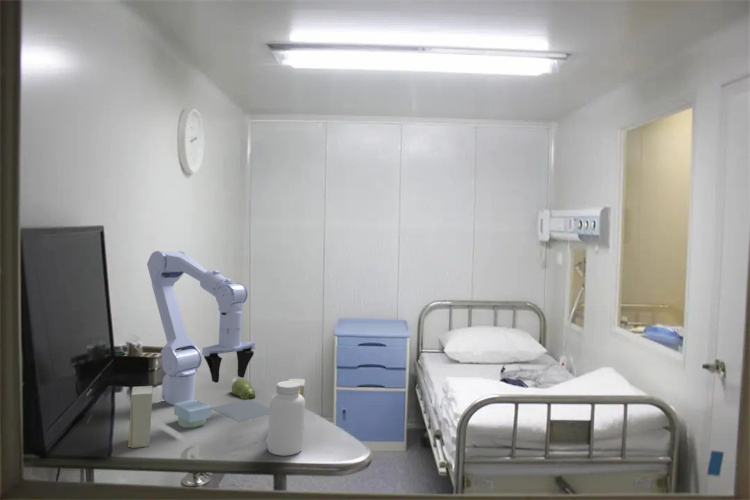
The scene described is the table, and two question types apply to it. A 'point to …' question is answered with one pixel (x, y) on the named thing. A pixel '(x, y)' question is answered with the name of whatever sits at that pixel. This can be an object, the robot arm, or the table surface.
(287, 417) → the pill bottle
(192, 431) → the table surface
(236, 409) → the mat
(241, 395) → the pear
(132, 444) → the skincare box
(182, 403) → the block
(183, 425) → the bowl
